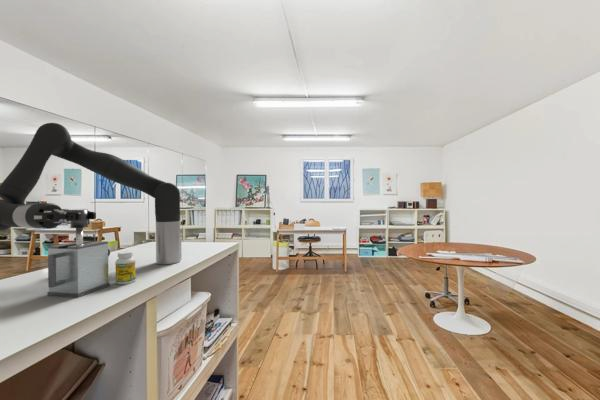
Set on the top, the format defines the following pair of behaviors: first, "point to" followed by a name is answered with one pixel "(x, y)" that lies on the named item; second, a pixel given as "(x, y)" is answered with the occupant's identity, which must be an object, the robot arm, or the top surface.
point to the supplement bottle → (125, 268)
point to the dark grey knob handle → (79, 225)
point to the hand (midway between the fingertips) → (87, 216)
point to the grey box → (77, 268)
